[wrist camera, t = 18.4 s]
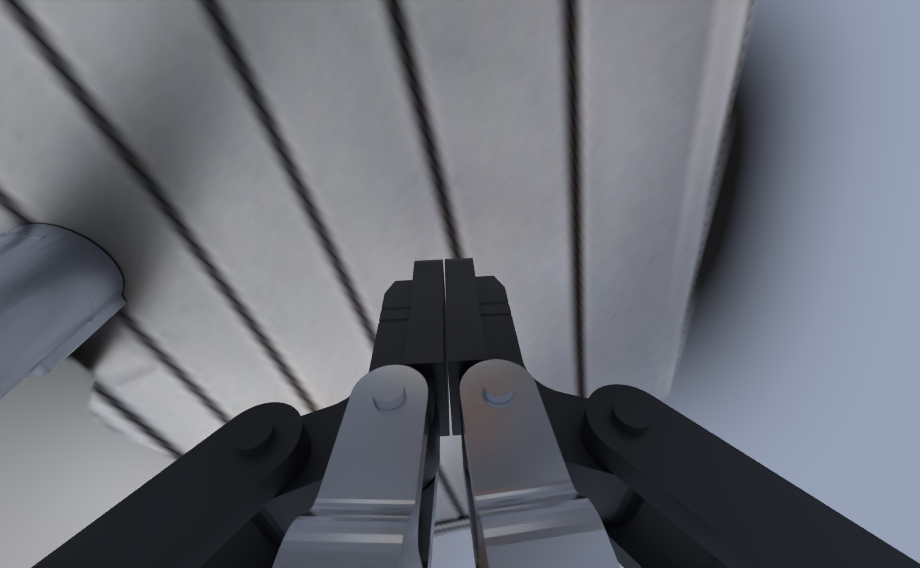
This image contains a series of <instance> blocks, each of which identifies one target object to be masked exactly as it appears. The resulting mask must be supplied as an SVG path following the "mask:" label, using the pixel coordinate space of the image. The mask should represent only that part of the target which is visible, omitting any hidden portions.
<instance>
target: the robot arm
mask: <svg viewBox="0 0 920 568" xmlns="http://www.w3.org/2000/svg"><path fill="white" fill-rule="evenodd" d="M445 283H446V300H445V285H444V271H443V260H423V261H415V262H414V271H413V280H405V281H395V282H394V283H393V284H392V286H391V287H390V288H389V289H388V290H387V291H386V293H385V295H384V300H383V305H382V311H381V314H380V319H379V321H380V323H379V324H378V329H377V334H376V339H375V344H374V349H373V354H372V359H371V364H370V369H369V373H368V374H366V375H365V376H364V377H362V378H361V379H360V380H359V381H358V382H357V384H356V385H355V387H354V388H353V390H352V393H351V395H350V397H348V398H347V399H345V400H343V401H341V402H340V403H337V404H335V405H332V406H330V407H327V408H324V409H321V410H318V411H315V412H312V413H309V414H306V415H303V416H300V414H299V412H298V411H297V410H296V409H295V408H294V407H292V406H290V405H288V404H285V403H279V402H271V403H264V404H261V405H257V406H255V407H252V408H250V409H248V410H246V411H244V412H242V413H240V414H239V415H237V416H236V417H234V418H233V419H232V420H230V421H229V422H228V423H226V424H225V425H224V426H222V427H221V428H220V429H218V430H217V431H215V432H214V433H213V434H211V435H210V436H209V437H207V438H206V439H205V440H203V441H202V442H201V443H199V444H198V445H197V446H195V447H194V448H192V449H191V450H190V451H188V452H187V453H186V454H184V455H183V456H182V457H180V458H179V459H178V460H176V461H175V462H174V463H172V464H171V465H169V466H168V467H167V468H165V469H164V470H163V471H161V472H160V473H159V474H157V475H156V476H155V477H153V478H152V479H151V480H149V481H148V482H147V483H145V484H144V485H142V486H141V487H140V488H138V489H137V490H136V491H134V492H133V493H132V494H130V495H129V496H128V497H126V498H125V499H123V500H122V501H121V502H119V503H118V504H117V505H115V506H114V507H113V508H111V509H110V510H109V511H108V512H106V513H105V514H103V515H102V516H101V517H99V518H98V519H96V520H95V521H94V522H92V523H91V524H90V525H88V526H87V527H86V528H84V529H83V530H82V531H80V532H79V533H77V534H76V535H75V536H74V537H72V538H71V539H69V540H68V541H67V542H65V543H64V544H63V545H61V546H60V547H59V548H57V549H56V550H55V551H53V552H52V553H51V554H49V555H48V556H47V557H45V558H44V559H42V560H41V561H40V562H38V563H37V564H36V565H34V566H33V567H32V568H431V560H432V547H433V534H434V521H435V508H436V495H437V483H438V467H439V461H440V436H450V432H449V391H450V405H451V419H452V433H453V435H461V436H462V454H463V473H464V481H465V489H466V496H467V504H468V512H469V520H470V527H471V534H472V543H473V550H474V558H475V566H476V568H620V566H619V563H620V564H621V565H622V566H623V567H624V568H920V564H919V563H918V562H916V561H914V560H913V559H911V558H909V557H908V556H906V555H905V554H903V553H902V552H900V551H898V550H897V549H895V548H894V547H892V546H891V545H889V544H887V543H886V542H884V541H883V540H881V539H879V538H878V537H876V536H875V535H873V534H871V533H870V532H868V531H867V530H865V529H864V528H862V527H860V526H859V525H857V524H855V523H854V522H852V521H851V520H849V519H847V518H846V517H844V516H843V515H841V514H840V513H838V512H836V511H835V510H833V509H832V508H830V507H829V506H826V505H825V504H824V503H822V502H821V501H819V500H817V499H816V498H814V497H813V496H811V495H809V494H808V493H806V492H805V491H803V490H801V489H800V488H798V487H797V486H795V485H793V484H792V483H790V482H789V481H787V480H785V479H784V478H782V477H781V476H779V475H778V474H776V473H774V472H773V471H771V470H769V469H768V468H766V467H765V466H763V465H762V464H760V463H759V462H757V461H755V460H754V459H752V458H751V457H749V456H747V455H746V454H744V453H743V452H741V451H739V450H738V449H736V448H735V447H733V446H731V445H730V444H728V443H727V442H725V441H724V440H722V439H720V438H719V437H717V436H715V435H714V434H712V433H711V432H709V431H708V430H706V429H704V428H703V427H701V426H700V425H698V424H696V423H695V422H693V421H692V420H690V419H688V418H687V417H685V416H684V415H682V414H680V413H679V412H677V411H676V410H674V409H673V408H671V407H669V406H668V405H666V404H665V403H663V402H661V401H660V400H658V399H657V398H655V397H653V396H652V395H650V394H648V393H647V392H645V391H643V390H640V389H638V388H635V387H632V386H627V385H619V384H614V385H607V386H603V387H601V388H599V389H597V390H596V391H594V392H593V393H592V394H591V395H590V397H589V399H588V398H584V397H579V396H575V395H570V394H565V393H561V392H558V391H554V390H552V389H549V388H547V387H545V386H544V385H542V384H540V383H539V382H538V381H536V380H535V379H534V378H533V377H532V376H531V374H530V373H529V372H528V371H527V369H526V368H525V366H524V363H523V360H522V356H521V352H520V348H519V344H518V339H517V335H516V331H515V327H514V323H513V319H512V316H511V311H510V307H509V304H508V299H507V295H506V291H505V287H504V286H503V285H502V284H501V283H500V282H499V281H498V280H497V279H496V278H495V277H494V276H482V277H475V271H474V264H473V258H462V259H445ZM122 290H123V278H122V276H121V273H120V271H119V269H118V267H117V266H116V264H115V263H114V261H113V260H112V259H111V258H110V257H109V256H108V255H107V254H106V253H105V252H104V251H103V250H101V249H100V248H99V247H98V246H96V245H95V244H94V243H92V242H90V241H89V240H87V239H86V238H84V237H82V236H80V235H78V234H76V233H74V232H72V231H69V230H66V229H63V228H60V227H57V226H52V225H47V224H26V225H21V226H19V227H17V228H14V229H12V230H10V231H8V232H6V233H3V234H1V235H0V399H1V398H2V397H4V396H5V395H6V394H7V393H8V392H9V391H10V390H12V389H13V388H14V387H15V386H16V385H17V384H19V383H20V382H21V381H22V380H23V379H24V378H28V377H41V376H45V375H47V374H48V373H50V372H51V371H52V370H53V369H54V368H55V367H56V366H57V365H59V364H60V363H61V362H62V361H63V360H64V359H65V358H66V357H68V356H69V355H70V354H71V353H72V352H73V351H74V350H75V349H76V348H78V347H79V346H80V345H81V344H82V343H83V342H84V341H85V340H86V339H87V338H89V337H90V336H91V335H92V334H93V333H94V332H95V331H96V330H97V329H99V328H100V327H101V326H102V325H103V324H104V323H105V322H106V321H107V320H109V319H110V318H111V317H112V316H113V315H114V314H115V313H116V312H117V311H119V310H120V309H121V308H122V307H123V306H124V305H125V304H126V302H125V300H124V299H123V297H122ZM448 377H449V391H448Z"/></svg>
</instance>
